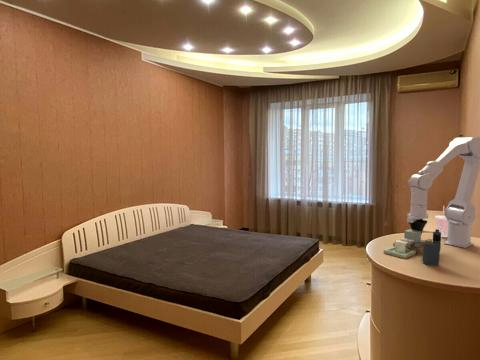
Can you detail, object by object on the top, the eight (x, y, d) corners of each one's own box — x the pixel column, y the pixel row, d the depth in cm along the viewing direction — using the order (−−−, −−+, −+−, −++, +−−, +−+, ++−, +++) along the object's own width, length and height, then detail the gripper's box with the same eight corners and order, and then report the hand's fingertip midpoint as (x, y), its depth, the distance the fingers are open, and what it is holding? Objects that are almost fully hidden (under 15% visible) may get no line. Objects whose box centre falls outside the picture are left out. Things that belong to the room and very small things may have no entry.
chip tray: (394, 248, 128) (394, 245, 128) (415, 253, 122) (416, 250, 121) (383, 253, 122) (383, 249, 122) (405, 258, 116) (405, 255, 116)
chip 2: (404, 243, 128) (404, 237, 128) (414, 245, 125) (415, 239, 125) (399, 245, 126) (399, 238, 126) (410, 247, 123) (410, 241, 123)
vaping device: (440, 265, 109) (443, 230, 108) (423, 264, 110) (425, 230, 109) (437, 263, 112) (439, 229, 110) (421, 262, 113) (423, 228, 112)
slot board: (409, 241, 138) (410, 235, 137) (434, 247, 130) (434, 239, 130) (393, 248, 129) (393, 240, 128) (418, 254, 121) (418, 246, 121)
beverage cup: (445, 238, 143) (447, 207, 141) (431, 235, 148) (433, 205, 147) (452, 237, 146) (454, 206, 144) (438, 234, 151) (440, 204, 150)
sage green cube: (409, 241, 131) (409, 229, 131) (420, 243, 128) (421, 231, 127) (404, 243, 129) (404, 230, 128) (415, 245, 125) (416, 233, 125)
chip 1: (398, 240, 125) (394, 241, 123) (408, 242, 122) (405, 243, 120) (397, 250, 125) (394, 251, 124) (408, 252, 122) (405, 254, 120)
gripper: (416, 201, 137) (414, 233, 138) (399, 204, 128) (398, 238, 129) (434, 203, 131) (432, 236, 133) (418, 207, 122) (416, 242, 124)
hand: (416, 237), depth 130 cm, fingers closed
